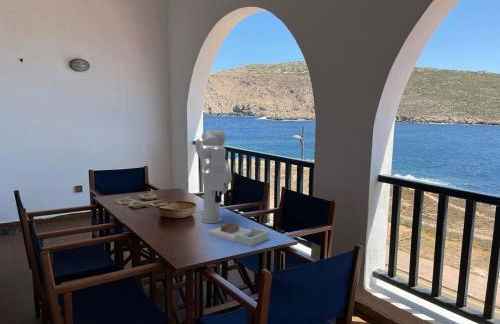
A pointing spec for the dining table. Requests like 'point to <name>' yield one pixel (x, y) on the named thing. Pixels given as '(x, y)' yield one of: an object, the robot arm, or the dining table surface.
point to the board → (229, 236)
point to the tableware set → (140, 204)
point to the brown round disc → (229, 227)
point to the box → (258, 237)
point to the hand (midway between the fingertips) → (217, 202)
